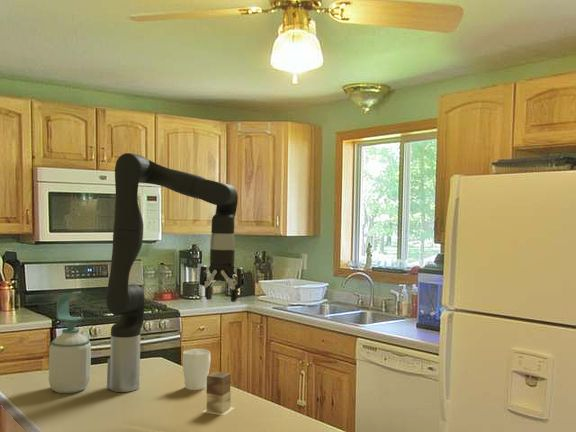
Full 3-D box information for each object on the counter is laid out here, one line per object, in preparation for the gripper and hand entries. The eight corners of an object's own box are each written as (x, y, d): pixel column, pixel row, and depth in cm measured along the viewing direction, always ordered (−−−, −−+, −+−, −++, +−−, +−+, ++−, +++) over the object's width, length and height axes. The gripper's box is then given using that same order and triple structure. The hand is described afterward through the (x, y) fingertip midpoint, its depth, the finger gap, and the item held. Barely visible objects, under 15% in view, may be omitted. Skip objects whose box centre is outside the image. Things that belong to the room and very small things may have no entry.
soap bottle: (71, 397, 175) (74, 294, 176) (39, 392, 180) (41, 292, 180) (98, 386, 187) (100, 290, 187) (67, 382, 191) (69, 288, 191)
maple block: (206, 411, 163) (206, 393, 163) (214, 405, 168) (215, 388, 168) (222, 413, 162) (222, 395, 162) (230, 408, 166) (230, 390, 166)
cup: (204, 394, 181) (205, 355, 181) (177, 391, 183) (178, 354, 183) (213, 386, 190) (214, 349, 190) (187, 384, 192) (188, 347, 192)
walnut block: (206, 393, 163) (206, 375, 163) (214, 388, 168) (215, 371, 168) (222, 395, 162) (222, 377, 162) (230, 390, 166) (230, 373, 166)
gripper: (196, 247, 177) (194, 300, 177) (237, 249, 172) (236, 303, 172) (207, 246, 184) (206, 297, 184) (248, 248, 179) (247, 300, 179)
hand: (221, 300), depth 178 cm, fingers open, 8 cm apart
